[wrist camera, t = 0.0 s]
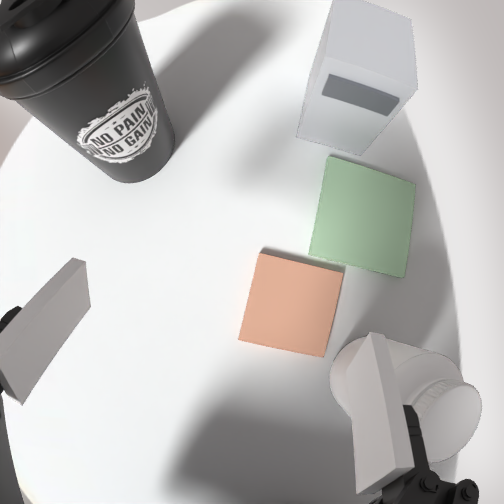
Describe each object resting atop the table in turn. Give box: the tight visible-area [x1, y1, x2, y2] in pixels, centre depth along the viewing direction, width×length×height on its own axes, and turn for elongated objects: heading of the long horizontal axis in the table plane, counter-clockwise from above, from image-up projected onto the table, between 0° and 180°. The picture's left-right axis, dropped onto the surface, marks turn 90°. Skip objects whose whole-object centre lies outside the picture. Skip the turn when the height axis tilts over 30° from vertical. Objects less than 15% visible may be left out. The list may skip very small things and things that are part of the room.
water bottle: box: [0, 0, 175, 183], centre depth 19 cm, size 10×10×23 cm
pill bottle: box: [329, 336, 482, 462], centre depth 21 cm, size 8×8×15 cm
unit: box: [296, 0, 418, 156], centre depth 25 cm, size 10×7×13 cm
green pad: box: [308, 156, 416, 278], centre depth 30 cm, size 10×10×1 cm
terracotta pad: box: [238, 253, 343, 357], centre depth 28 cm, size 8×8×1 cm
